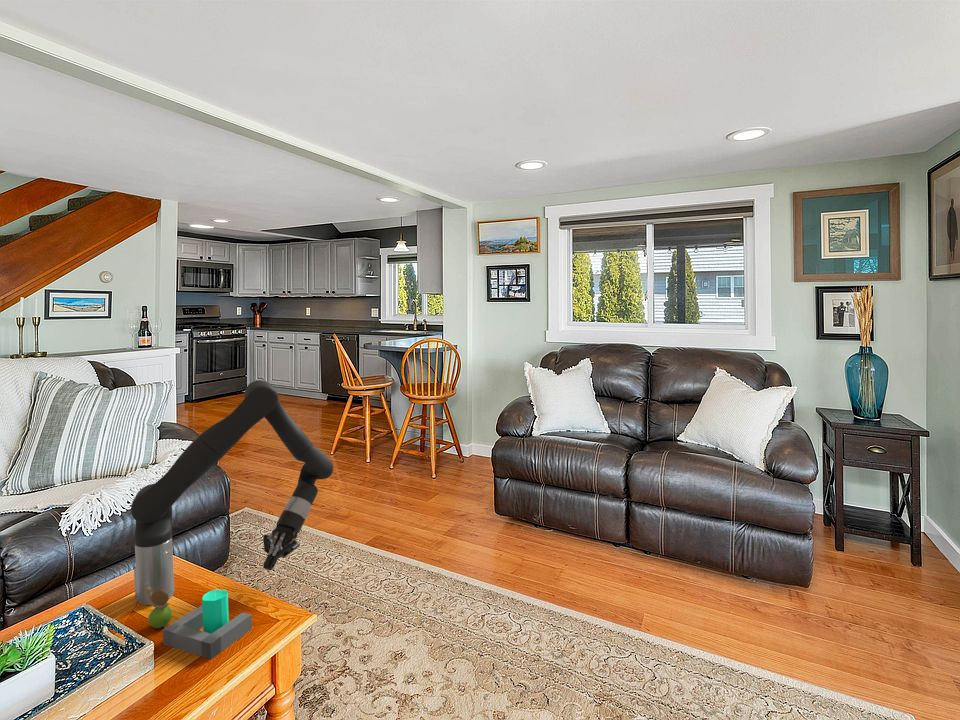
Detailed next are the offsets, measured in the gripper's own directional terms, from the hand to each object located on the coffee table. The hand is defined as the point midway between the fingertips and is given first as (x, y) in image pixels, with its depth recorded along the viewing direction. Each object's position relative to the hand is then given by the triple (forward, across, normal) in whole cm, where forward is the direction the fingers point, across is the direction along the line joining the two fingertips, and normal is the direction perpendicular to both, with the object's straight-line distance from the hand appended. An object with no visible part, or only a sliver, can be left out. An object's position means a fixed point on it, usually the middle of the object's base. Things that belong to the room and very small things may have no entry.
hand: (266, 569), depth 152 cm
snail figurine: (+22, -16, -10) cm, 29 cm away
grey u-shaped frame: (+21, 0, -9) cm, 22 cm away
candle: (+19, +1, -7) cm, 21 cm away
